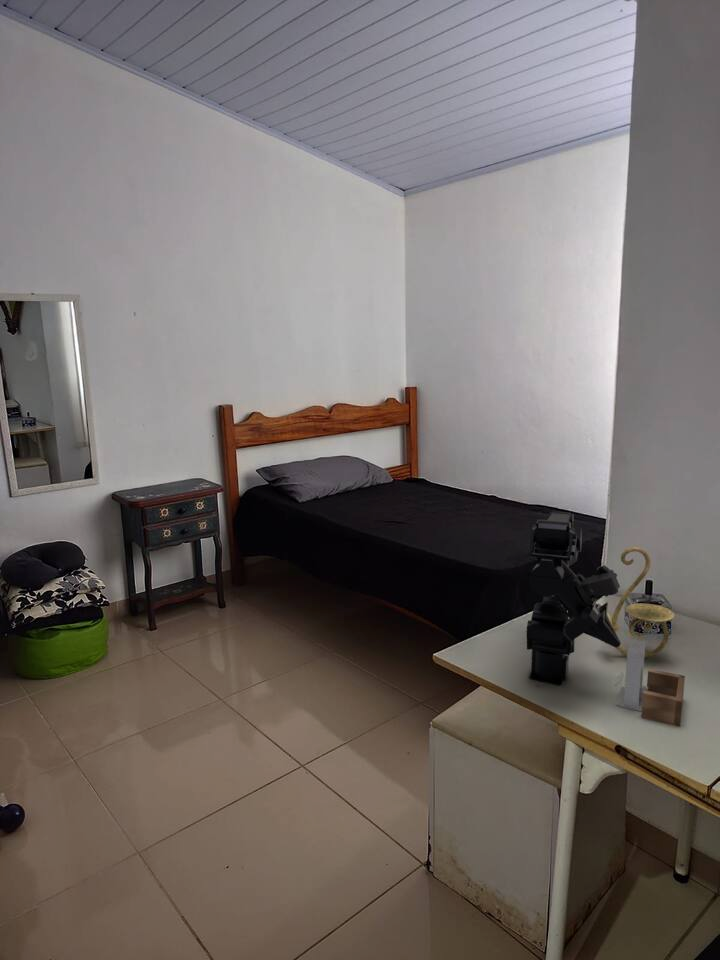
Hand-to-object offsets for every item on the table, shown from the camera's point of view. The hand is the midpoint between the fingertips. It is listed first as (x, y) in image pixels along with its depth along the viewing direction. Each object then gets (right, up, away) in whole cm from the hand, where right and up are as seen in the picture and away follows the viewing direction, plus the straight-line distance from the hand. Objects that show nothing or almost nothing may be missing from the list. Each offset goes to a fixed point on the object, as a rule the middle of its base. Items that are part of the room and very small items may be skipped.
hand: (618, 645), depth 121 cm
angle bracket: (+3, -11, 0) cm, 11 cm away
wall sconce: (+11, -8, +18) cm, 23 cm away
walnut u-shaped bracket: (+7, -11, -2) cm, 14 cm away
